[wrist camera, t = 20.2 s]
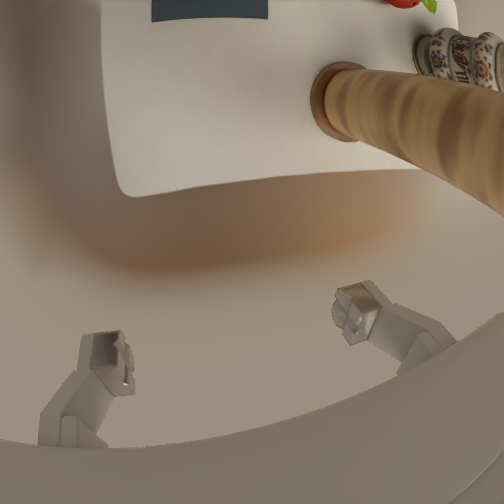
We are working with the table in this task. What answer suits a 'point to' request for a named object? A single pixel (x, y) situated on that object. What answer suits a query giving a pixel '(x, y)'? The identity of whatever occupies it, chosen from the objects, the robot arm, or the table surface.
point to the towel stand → (419, 123)
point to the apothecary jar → (461, 57)
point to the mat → (208, 9)
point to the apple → (413, 4)
